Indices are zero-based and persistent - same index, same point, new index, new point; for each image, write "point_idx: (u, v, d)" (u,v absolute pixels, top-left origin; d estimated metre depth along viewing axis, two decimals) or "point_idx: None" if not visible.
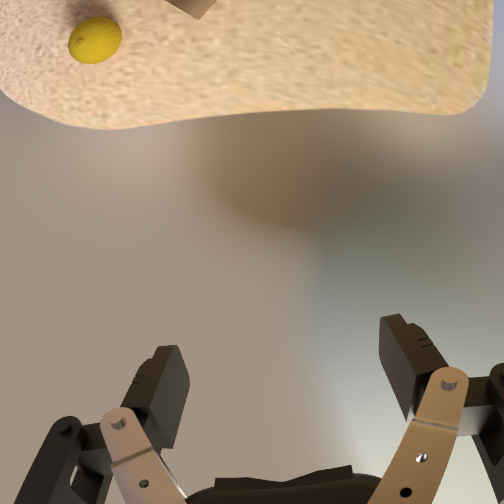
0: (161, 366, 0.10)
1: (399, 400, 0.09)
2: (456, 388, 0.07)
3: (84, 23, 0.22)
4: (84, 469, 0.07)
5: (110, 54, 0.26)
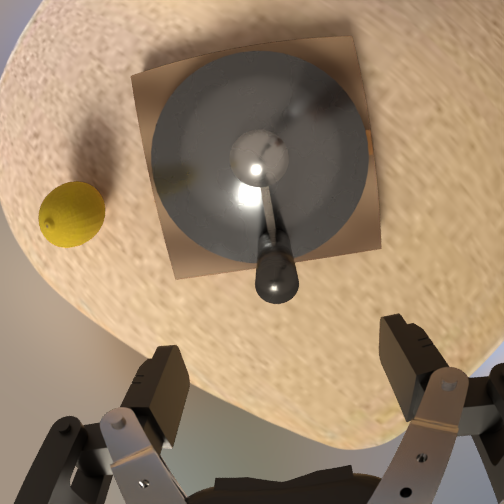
0: (161, 366, 0.10)
1: (399, 400, 0.09)
2: (456, 388, 0.07)
3: (68, 200, 0.21)
4: (84, 469, 0.07)
5: None
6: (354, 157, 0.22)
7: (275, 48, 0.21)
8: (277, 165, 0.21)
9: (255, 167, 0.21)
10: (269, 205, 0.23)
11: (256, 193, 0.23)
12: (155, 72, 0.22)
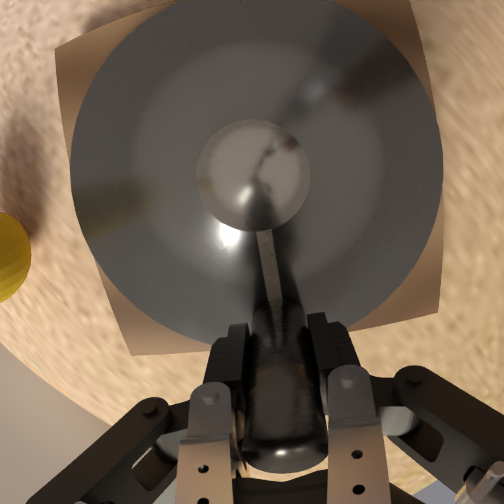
0: (240, 342, 0.11)
1: None
2: (352, 386, 0.08)
3: None
4: (157, 453, 0.08)
5: None
6: (421, 175, 0.12)
7: None
8: (288, 190, 0.11)
9: (245, 193, 0.11)
10: (272, 260, 0.13)
11: (248, 239, 0.13)
12: (87, 38, 0.11)
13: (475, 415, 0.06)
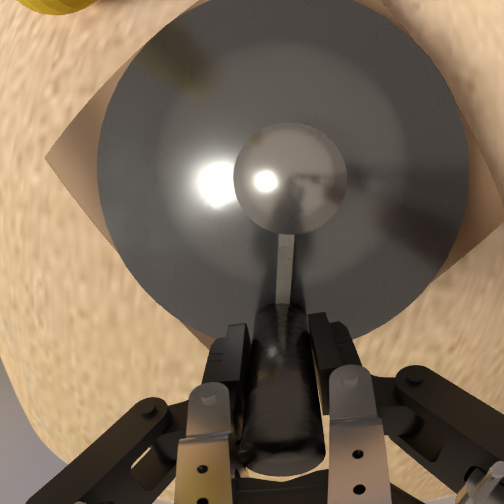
0: (239, 342, 0.11)
1: (319, 394, 0.10)
2: (354, 385, 0.08)
3: None
4: (156, 453, 0.08)
5: None
6: (444, 211, 0.12)
7: None
8: (322, 200, 0.11)
9: (280, 195, 0.11)
10: (288, 264, 0.13)
11: (269, 239, 0.13)
12: None
13: (476, 415, 0.06)
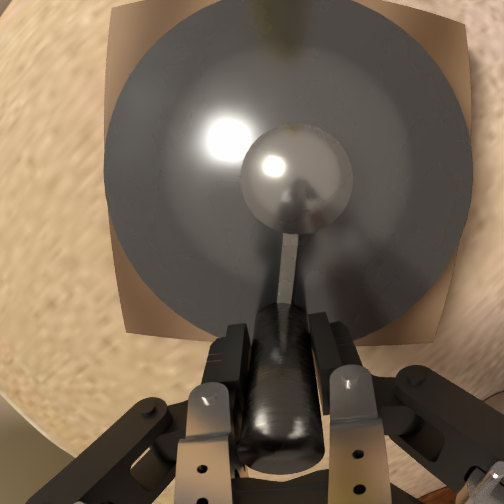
0: (238, 342, 0.11)
1: None
2: (354, 385, 0.08)
3: None
4: (156, 453, 0.08)
5: None
6: (447, 217, 0.12)
7: None
8: (327, 201, 0.11)
9: (286, 194, 0.11)
10: (291, 264, 0.13)
11: (274, 238, 0.13)
12: (463, 57, 0.11)
13: (477, 415, 0.06)
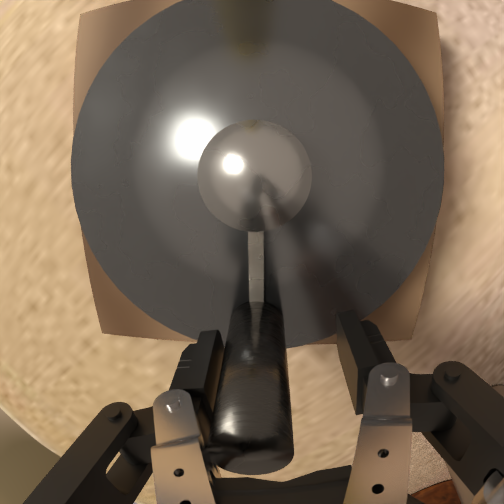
0: (208, 349, 0.11)
1: (350, 393, 0.10)
2: (394, 383, 0.07)
3: None
4: (127, 457, 0.08)
5: None
6: (419, 201, 0.12)
7: None
8: (287, 195, 0.11)
9: (244, 192, 0.11)
10: (259, 262, 0.13)
11: (239, 237, 0.13)
12: (434, 46, 0.11)
13: None
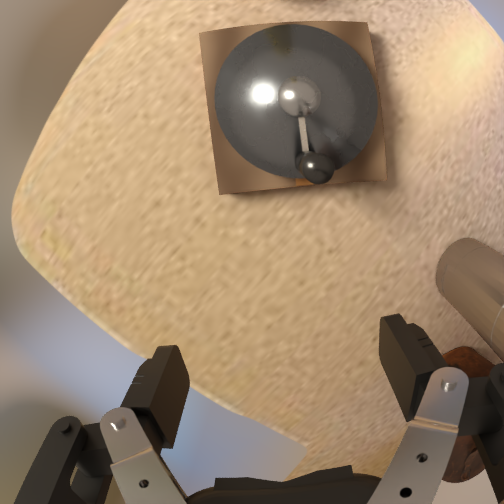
0: (161, 366, 0.10)
1: (399, 400, 0.09)
2: (456, 388, 0.07)
3: None
4: (84, 469, 0.07)
5: None
6: (367, 103, 0.27)
7: (377, 122, 0.30)
8: (312, 101, 0.27)
9: (296, 101, 0.27)
10: (304, 133, 0.29)
11: (295, 123, 0.29)
12: (367, 39, 0.27)
13: None
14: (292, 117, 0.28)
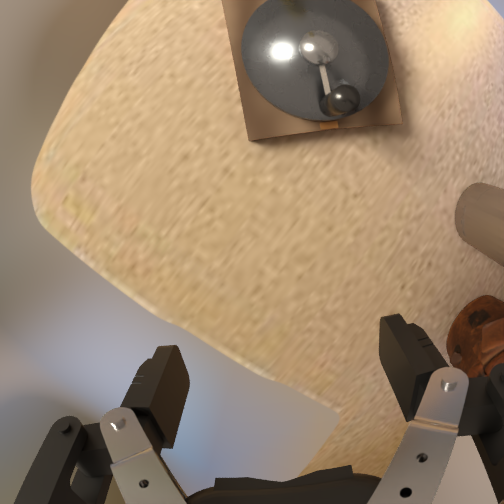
0: (161, 366, 0.10)
1: (399, 400, 0.09)
2: (456, 388, 0.07)
3: None
4: (84, 469, 0.07)
5: None
6: (379, 53, 0.28)
7: (389, 72, 0.30)
8: (331, 51, 0.27)
9: (317, 51, 0.27)
10: (326, 79, 0.29)
11: (316, 71, 0.29)
12: (372, 2, 0.27)
13: None
14: (314, 66, 0.29)
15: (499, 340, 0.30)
